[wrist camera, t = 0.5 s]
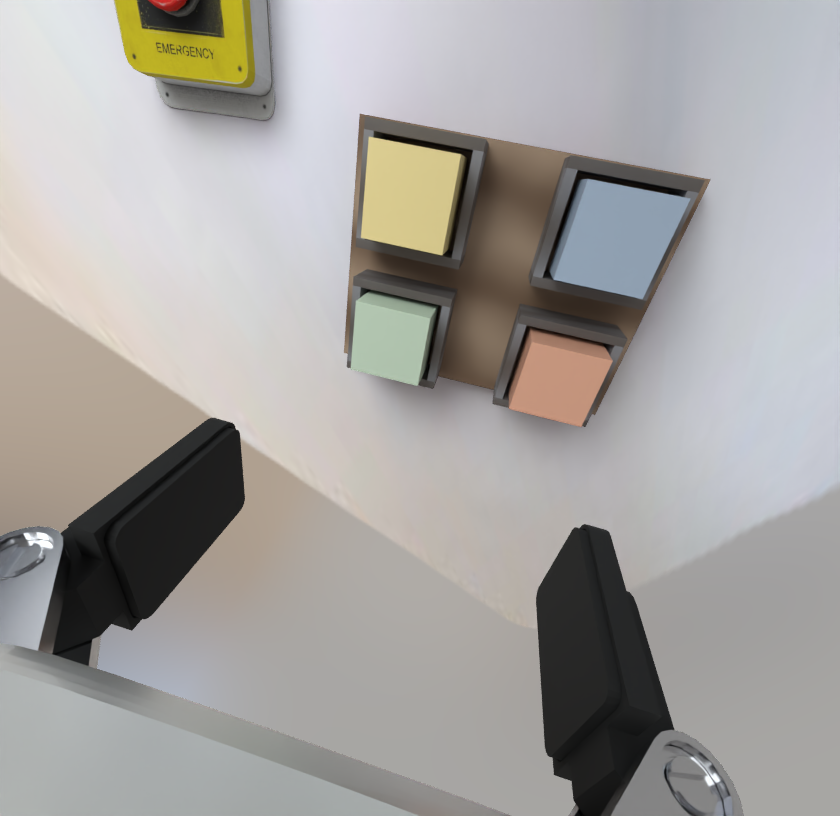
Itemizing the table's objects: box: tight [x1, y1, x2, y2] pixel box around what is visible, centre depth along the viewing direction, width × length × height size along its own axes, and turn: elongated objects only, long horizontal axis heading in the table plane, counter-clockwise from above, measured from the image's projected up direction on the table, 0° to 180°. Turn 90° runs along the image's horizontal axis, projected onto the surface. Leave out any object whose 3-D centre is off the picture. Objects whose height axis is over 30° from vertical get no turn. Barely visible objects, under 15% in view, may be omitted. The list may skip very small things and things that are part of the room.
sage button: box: [351, 290, 439, 386], centre depth 28 cm, size 5×5×3 cm
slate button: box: [549, 179, 690, 299], centre depth 22 cm, size 5×5×3 cm
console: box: [344, 114, 710, 427], centre depth 28 cm, size 17×22×5 cm
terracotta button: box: [509, 326, 613, 427], centre depth 27 cm, size 5×5×3 cm
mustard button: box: [361, 137, 467, 255], centre depth 24 cm, size 5×5×3 cm
